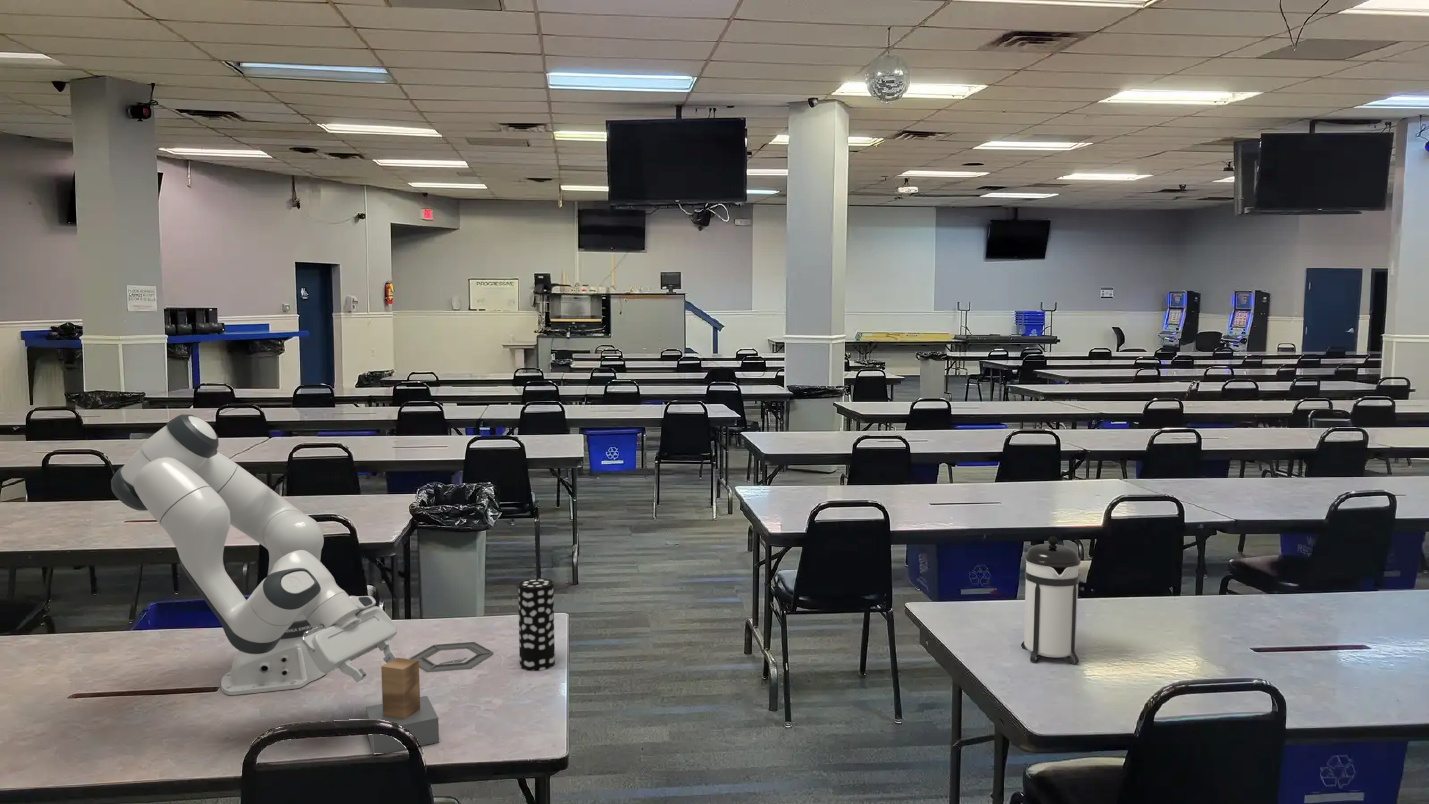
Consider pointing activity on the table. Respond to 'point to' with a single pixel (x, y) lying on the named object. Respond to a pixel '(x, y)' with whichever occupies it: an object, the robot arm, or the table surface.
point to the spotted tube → (536, 624)
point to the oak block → (400, 688)
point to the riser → (406, 727)
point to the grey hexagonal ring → (456, 665)
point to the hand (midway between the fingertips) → (377, 670)
